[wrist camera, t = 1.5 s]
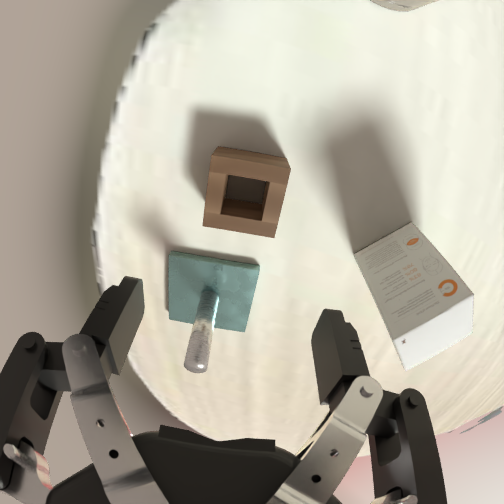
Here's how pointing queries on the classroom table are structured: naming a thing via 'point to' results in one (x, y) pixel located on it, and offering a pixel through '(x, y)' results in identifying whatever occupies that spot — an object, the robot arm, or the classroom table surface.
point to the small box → (416, 295)
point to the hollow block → (237, 211)
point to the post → (209, 299)
